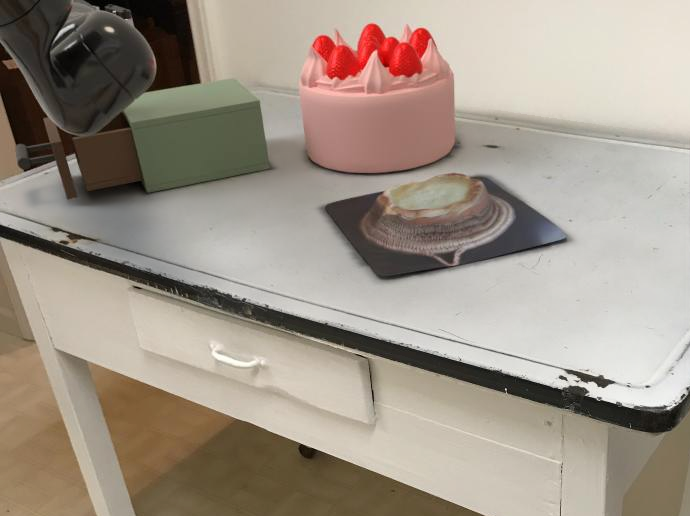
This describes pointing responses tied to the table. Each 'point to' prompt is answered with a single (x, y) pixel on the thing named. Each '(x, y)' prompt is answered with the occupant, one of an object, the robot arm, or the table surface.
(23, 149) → the drawer
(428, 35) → the cake
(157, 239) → the table surface
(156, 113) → the cabinet
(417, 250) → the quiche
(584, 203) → the table surface
